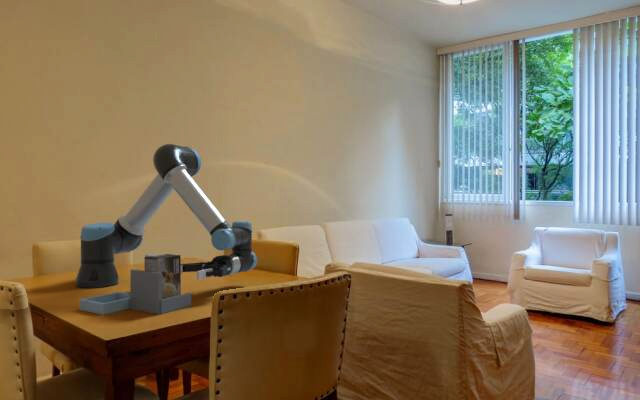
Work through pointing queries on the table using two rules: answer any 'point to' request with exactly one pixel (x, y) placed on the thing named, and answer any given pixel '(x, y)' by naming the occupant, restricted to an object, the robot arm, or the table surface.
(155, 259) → the coffee box
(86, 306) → the tray
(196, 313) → the table surface
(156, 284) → the bracket
